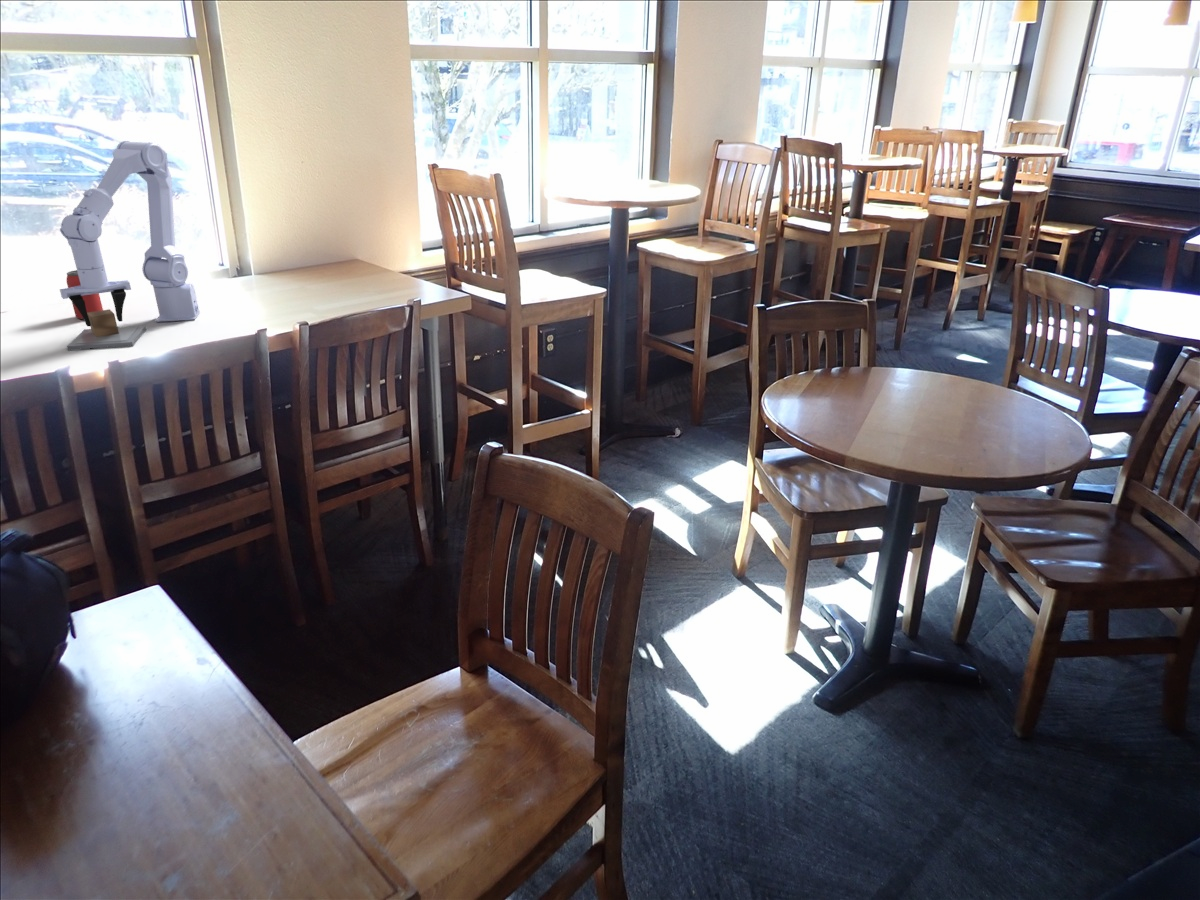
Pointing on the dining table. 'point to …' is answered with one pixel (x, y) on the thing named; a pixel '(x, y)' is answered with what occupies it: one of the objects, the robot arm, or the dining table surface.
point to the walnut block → (103, 323)
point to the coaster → (108, 338)
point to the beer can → (84, 296)
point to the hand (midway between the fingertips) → (104, 322)
